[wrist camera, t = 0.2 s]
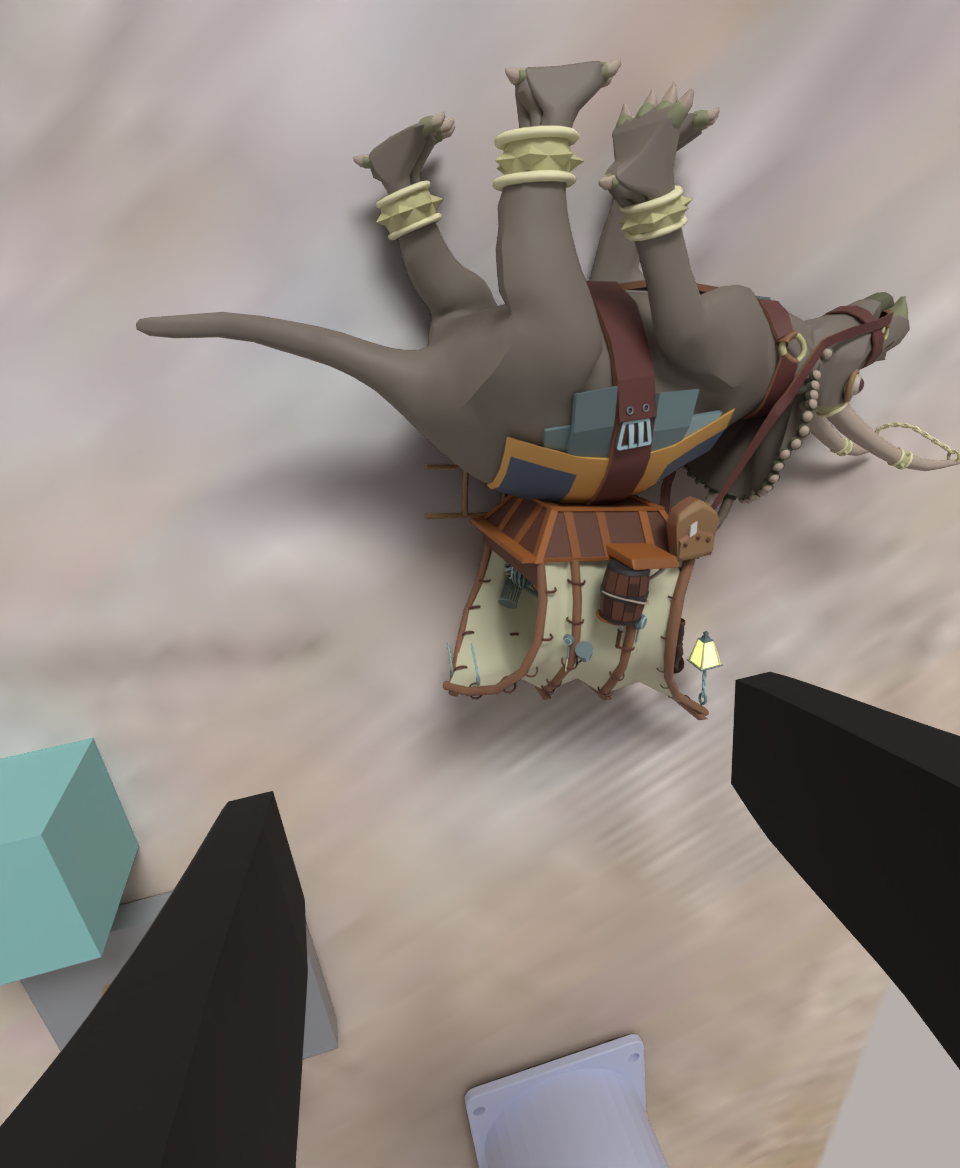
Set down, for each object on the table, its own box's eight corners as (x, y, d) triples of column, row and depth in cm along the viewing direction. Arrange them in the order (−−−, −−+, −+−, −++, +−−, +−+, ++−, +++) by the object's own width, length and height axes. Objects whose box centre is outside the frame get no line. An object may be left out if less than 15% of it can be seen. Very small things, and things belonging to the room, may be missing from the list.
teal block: (139, 843, 20) (101, 956, 16) (-3, 879, 19) (-76, 1006, 16) (94, 736, 19) (40, 835, 15) (-62, 771, 18) (-158, 883, 14)
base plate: (337, 1021, 24) (337, 1048, 24) (110, 1092, 23) (101, 1122, 22) (287, 860, 21) (285, 884, 20) (21, 931, 20) (8, 959, 19)
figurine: (1138, 32, 13) (971, 729, 20) (883, 117, 18) (819, 643, 25) (23, 35, 8) (294, 949, 15) (118, 149, 14) (286, 784, 20)
